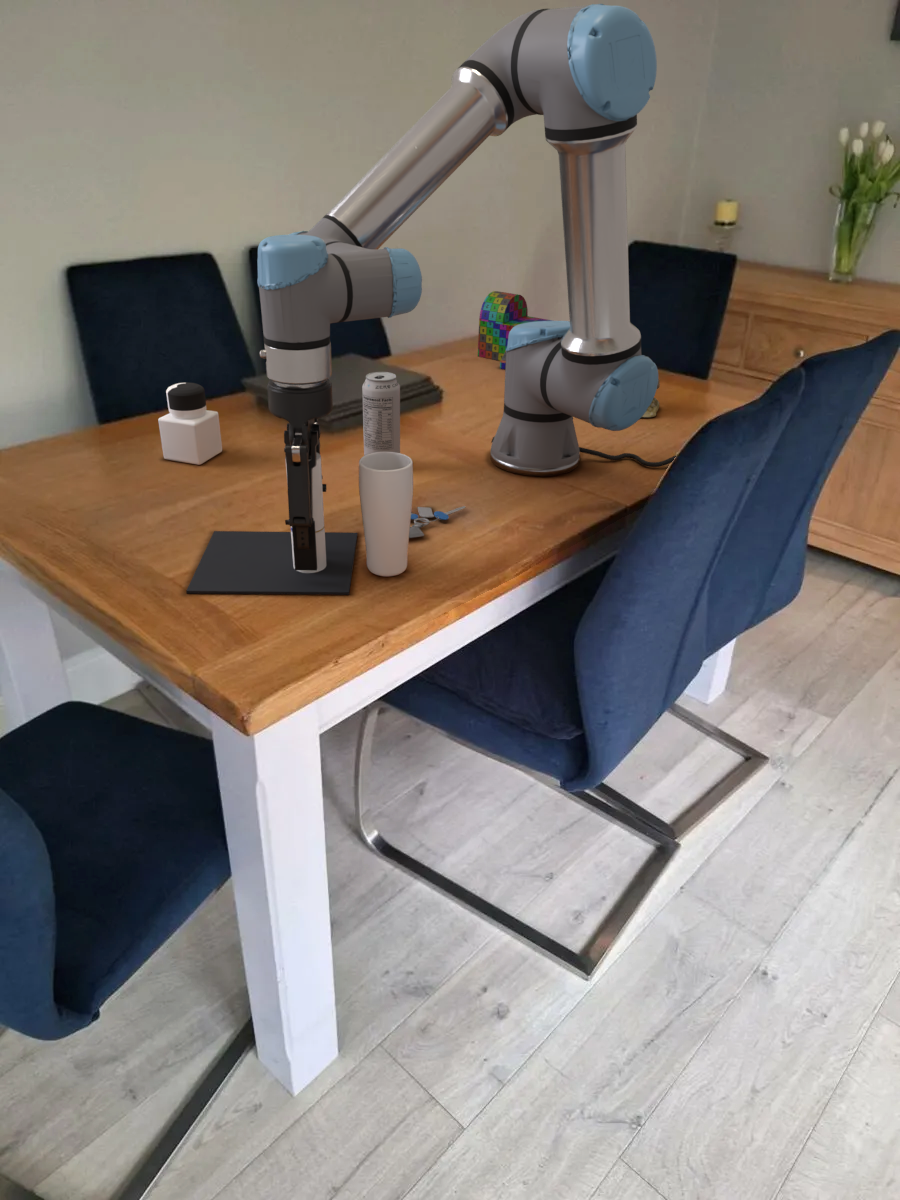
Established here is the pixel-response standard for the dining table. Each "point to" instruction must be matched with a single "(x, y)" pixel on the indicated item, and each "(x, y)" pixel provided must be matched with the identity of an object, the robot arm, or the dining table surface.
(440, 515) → the key chain
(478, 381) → the dining table surface
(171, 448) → the medicine bottle
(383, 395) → the energy drink can
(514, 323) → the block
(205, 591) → the charcoal mat
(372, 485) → the drinking glass
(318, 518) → the tube
